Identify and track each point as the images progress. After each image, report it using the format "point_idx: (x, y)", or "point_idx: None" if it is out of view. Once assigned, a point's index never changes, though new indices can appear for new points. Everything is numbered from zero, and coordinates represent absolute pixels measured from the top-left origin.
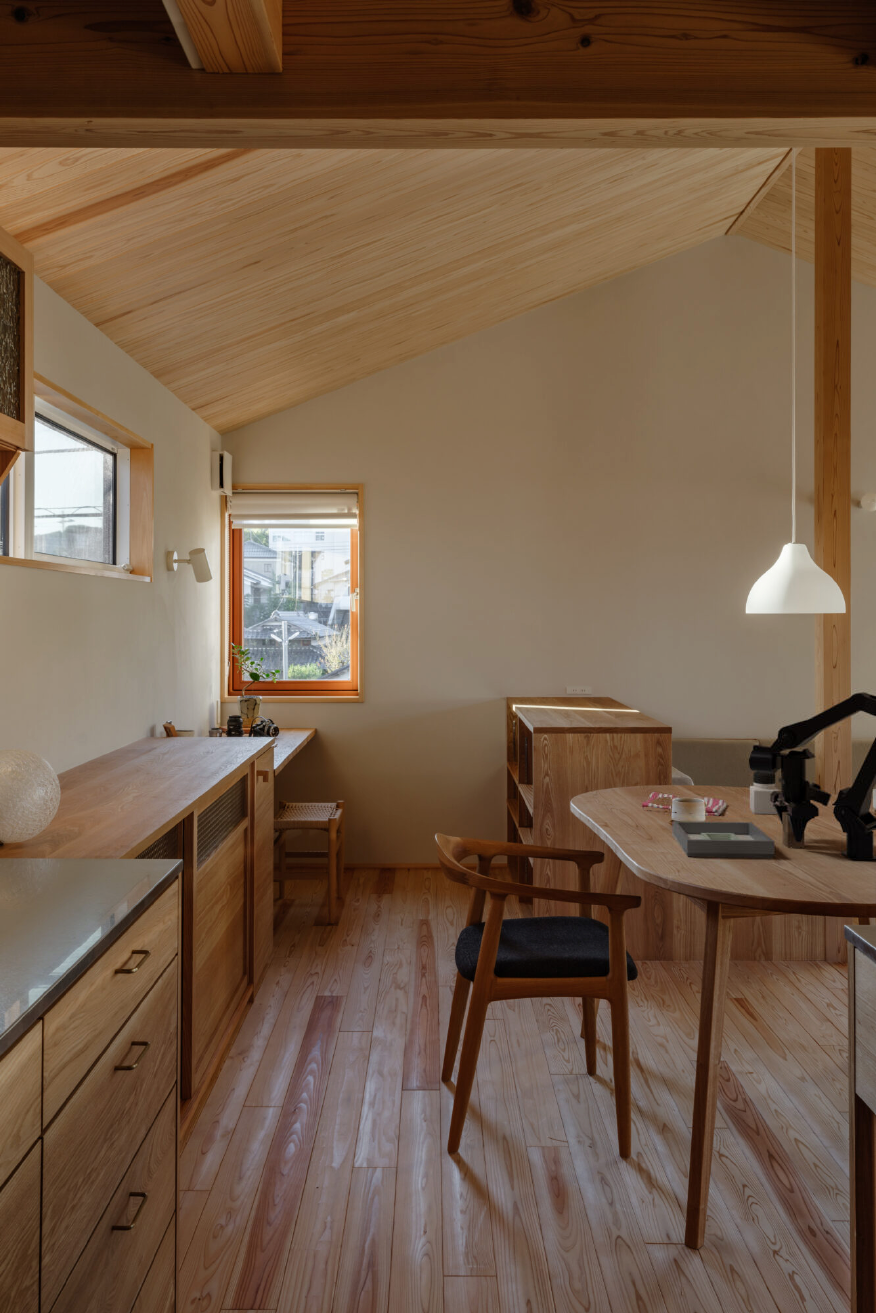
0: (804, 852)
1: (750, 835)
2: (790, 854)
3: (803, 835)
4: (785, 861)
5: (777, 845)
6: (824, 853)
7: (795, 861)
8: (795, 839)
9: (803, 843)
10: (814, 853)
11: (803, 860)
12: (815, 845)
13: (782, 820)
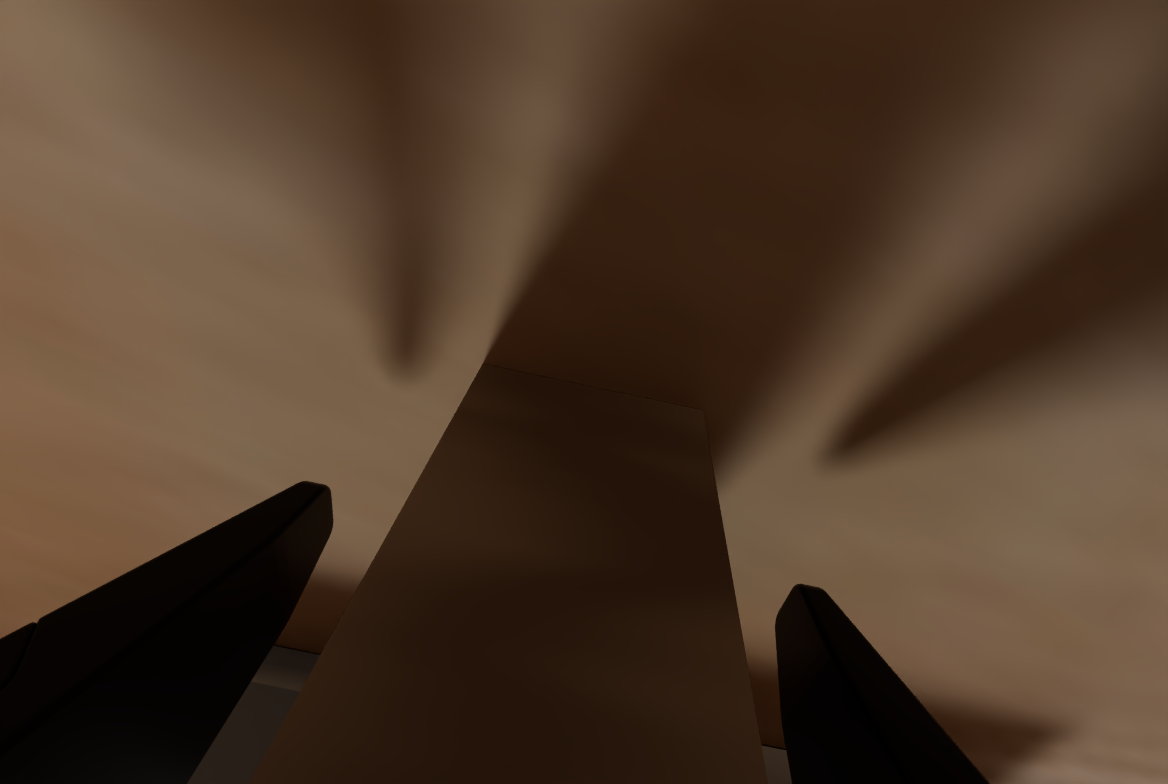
0: (894, 510)
1: None
2: (900, 651)
3: (721, 554)
4: (1081, 770)
5: None
6: (1079, 306)
7: (1138, 723)
8: (782, 655)
9: (703, 458)
10: (996, 434)
11: (1164, 664)
12: (584, 166)
13: (179, 776)
